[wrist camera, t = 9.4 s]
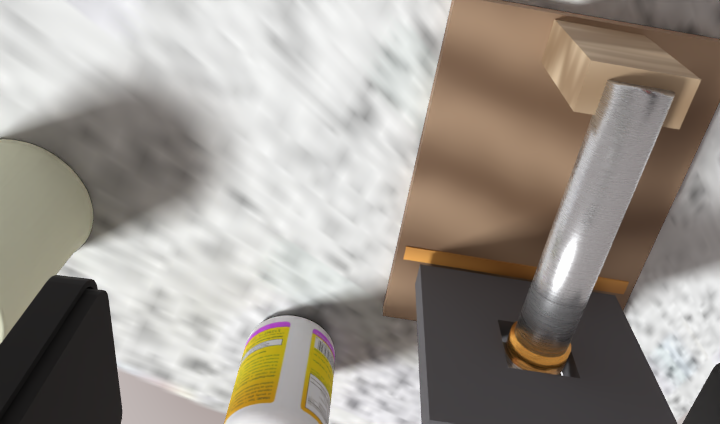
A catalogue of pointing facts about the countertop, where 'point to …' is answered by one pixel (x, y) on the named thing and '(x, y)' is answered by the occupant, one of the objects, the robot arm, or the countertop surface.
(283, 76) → the countertop surface
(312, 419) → the supplement bottle
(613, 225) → the pipe
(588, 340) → the dark grey flat plate
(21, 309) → the can
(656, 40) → the stand
